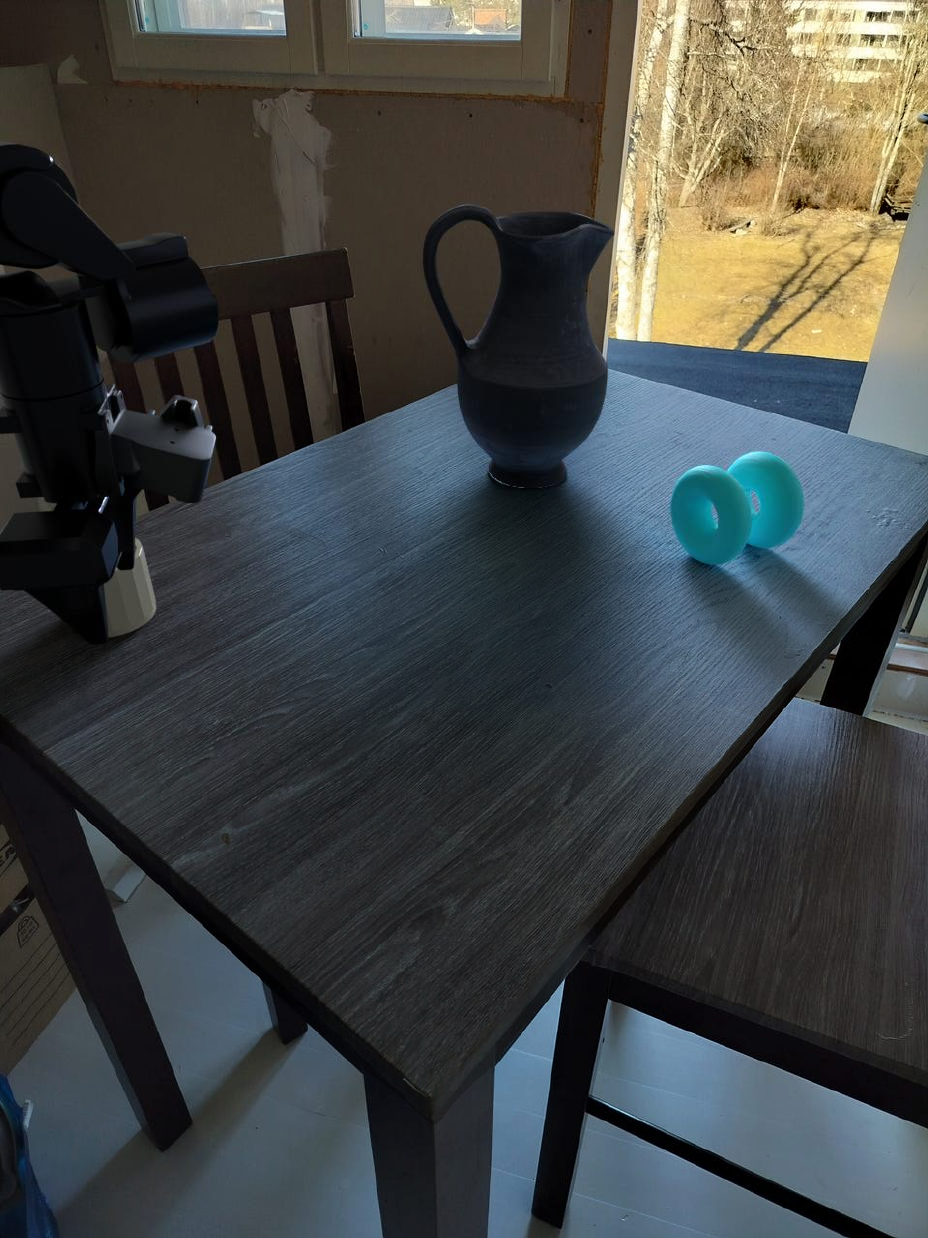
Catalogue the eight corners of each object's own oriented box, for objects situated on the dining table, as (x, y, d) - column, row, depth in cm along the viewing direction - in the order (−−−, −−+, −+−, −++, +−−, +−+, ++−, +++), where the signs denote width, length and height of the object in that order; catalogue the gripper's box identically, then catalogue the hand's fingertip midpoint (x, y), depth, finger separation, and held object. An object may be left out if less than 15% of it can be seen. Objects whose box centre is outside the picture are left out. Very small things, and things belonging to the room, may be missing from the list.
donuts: (658, 540, 90) (671, 453, 85) (728, 519, 94) (746, 434, 89) (723, 585, 83) (743, 493, 78) (797, 560, 87) (821, 471, 81)
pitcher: (614, 500, 98) (648, 216, 81) (436, 512, 95) (431, 222, 78) (575, 440, 112) (597, 187, 95) (419, 449, 109) (411, 191, 92)
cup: (60, 641, 75) (40, 579, 72) (80, 594, 81) (62, 535, 78) (149, 634, 76) (133, 573, 72) (162, 588, 82) (148, 529, 79)
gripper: (170, 440, 43) (219, 679, 52) (210, 331, 58) (243, 531, 67) (-63, 451, 42) (29, 694, 51) (40, 337, 57) (97, 539, 66)
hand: (114, 603), depth 59 cm, fingers open, 9 cm apart
